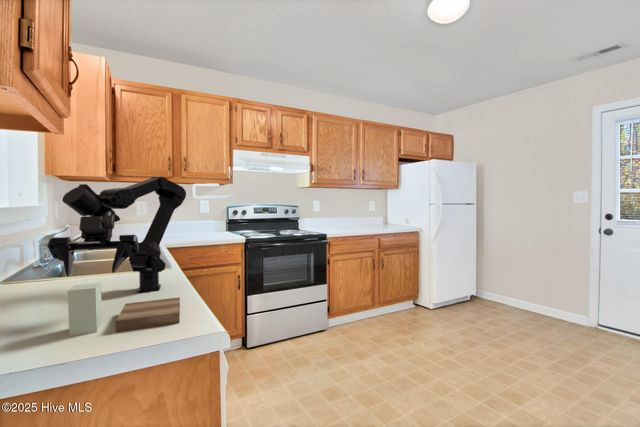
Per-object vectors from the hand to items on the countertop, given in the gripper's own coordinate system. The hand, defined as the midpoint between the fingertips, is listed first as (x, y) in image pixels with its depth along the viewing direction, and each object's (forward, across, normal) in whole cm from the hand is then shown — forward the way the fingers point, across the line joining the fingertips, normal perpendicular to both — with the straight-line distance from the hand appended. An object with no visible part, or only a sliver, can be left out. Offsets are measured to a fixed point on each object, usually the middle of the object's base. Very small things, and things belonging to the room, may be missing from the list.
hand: (90, 273), depth 75 cm
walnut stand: (+11, +13, +6) cm, 18 cm away
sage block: (+12, 0, +4) cm, 13 cm away
